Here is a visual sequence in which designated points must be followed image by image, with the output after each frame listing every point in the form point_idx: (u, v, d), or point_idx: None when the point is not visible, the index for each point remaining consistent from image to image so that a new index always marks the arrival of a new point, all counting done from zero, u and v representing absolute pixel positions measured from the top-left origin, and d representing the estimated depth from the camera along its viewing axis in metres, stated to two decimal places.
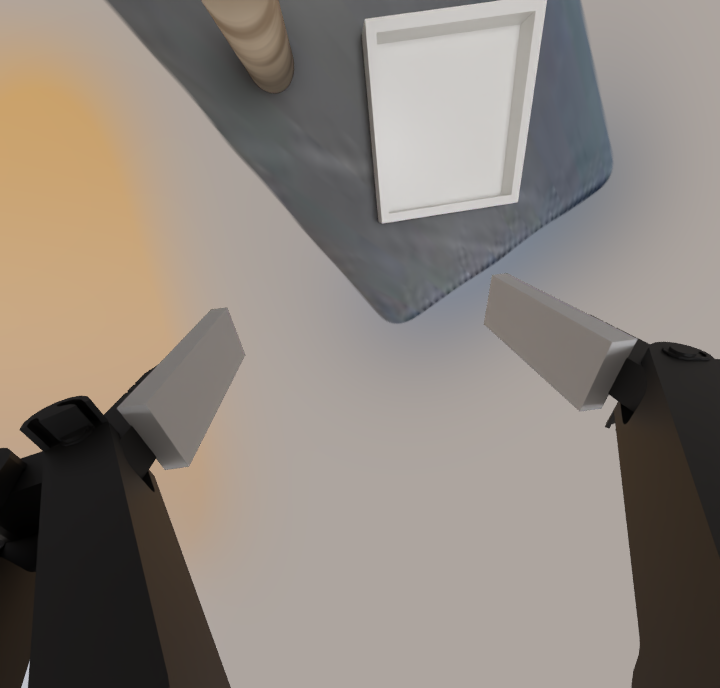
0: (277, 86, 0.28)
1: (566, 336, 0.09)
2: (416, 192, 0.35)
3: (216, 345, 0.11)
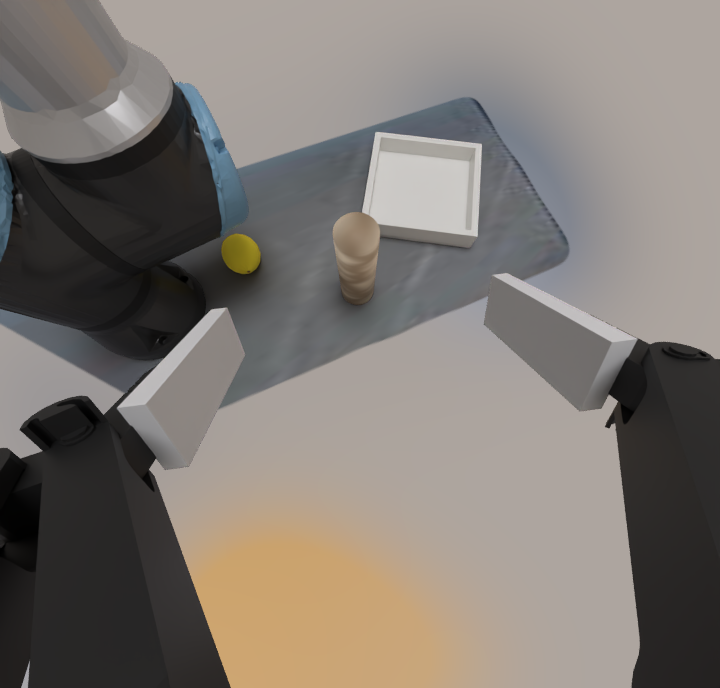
0: None
1: (566, 336, 0.09)
2: (455, 215, 0.44)
3: (216, 345, 0.11)
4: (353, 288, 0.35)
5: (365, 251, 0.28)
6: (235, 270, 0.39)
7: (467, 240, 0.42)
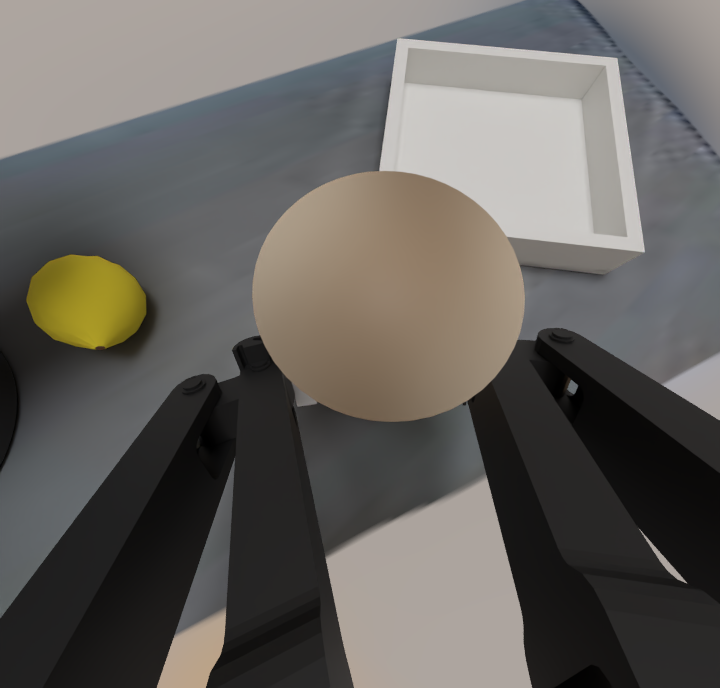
0: None
1: None
2: (568, 206, 0.21)
3: None
4: None
5: (452, 402, 0.04)
6: None
7: (611, 260, 0.19)
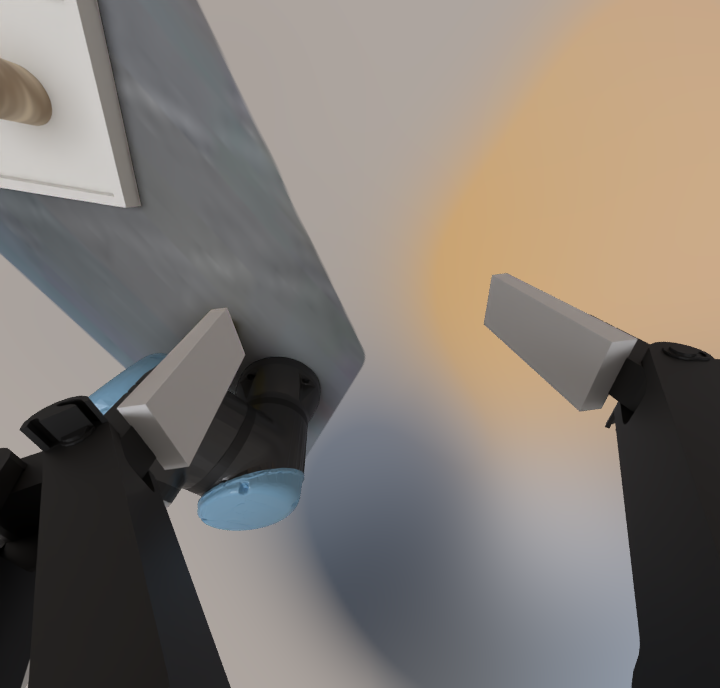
0: None
1: (566, 336, 0.09)
2: (37, 19, 0.25)
3: (216, 345, 0.11)
4: None
5: None
6: None
7: (85, 2, 0.24)
